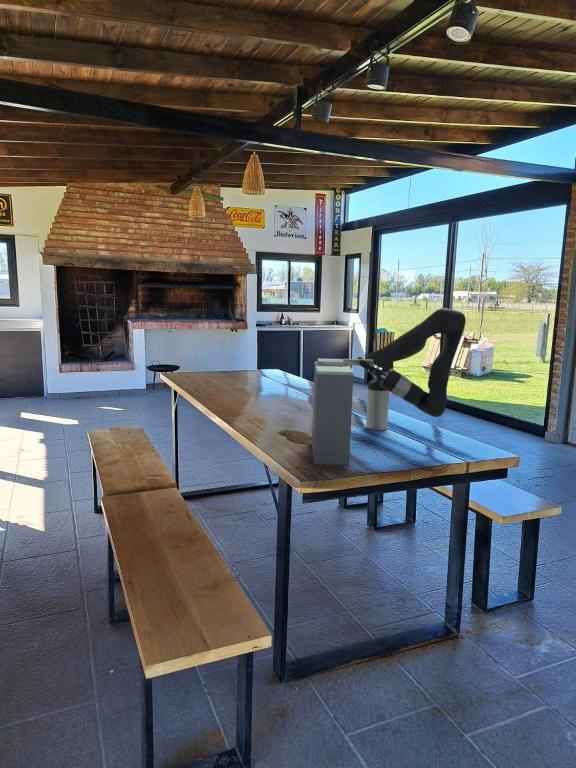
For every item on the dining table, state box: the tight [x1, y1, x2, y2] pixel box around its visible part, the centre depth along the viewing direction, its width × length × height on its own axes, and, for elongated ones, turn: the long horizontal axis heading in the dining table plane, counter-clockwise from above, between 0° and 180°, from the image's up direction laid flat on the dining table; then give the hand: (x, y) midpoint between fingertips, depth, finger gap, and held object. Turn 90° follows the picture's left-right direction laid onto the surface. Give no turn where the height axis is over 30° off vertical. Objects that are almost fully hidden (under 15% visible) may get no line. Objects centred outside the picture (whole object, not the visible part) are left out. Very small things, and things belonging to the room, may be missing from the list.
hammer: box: [317, 358, 374, 366], centre depth 199 cm, size 8×20×2 cm, turn 89°
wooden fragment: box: [277, 428, 312, 446], centre depth 219 cm, size 26×11×1 cm, turn 23°
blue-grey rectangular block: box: [311, 361, 354, 466], centre depth 196 cm, size 26×12×32 cm, turn 179°
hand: (358, 360), depth 199 cm, fingers open, 8 cm apart
